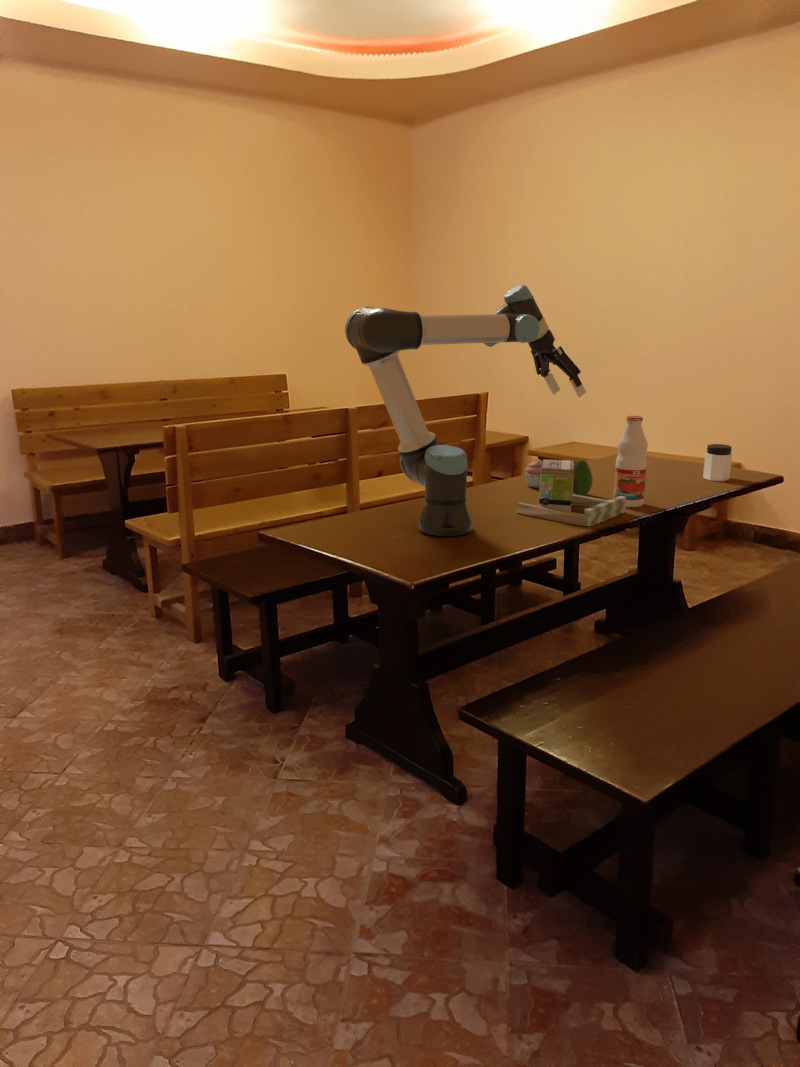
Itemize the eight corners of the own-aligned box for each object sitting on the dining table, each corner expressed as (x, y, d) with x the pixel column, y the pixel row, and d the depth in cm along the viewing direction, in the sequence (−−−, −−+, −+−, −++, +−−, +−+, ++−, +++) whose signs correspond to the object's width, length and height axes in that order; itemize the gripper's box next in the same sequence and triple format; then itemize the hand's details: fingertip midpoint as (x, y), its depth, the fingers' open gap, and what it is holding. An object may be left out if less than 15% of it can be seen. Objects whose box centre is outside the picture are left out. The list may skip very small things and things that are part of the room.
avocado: (585, 492, 281) (587, 457, 278) (595, 497, 274) (597, 461, 271) (563, 493, 280) (565, 458, 276) (572, 498, 272) (574, 462, 269)
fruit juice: (638, 500, 269) (644, 414, 262) (647, 507, 260) (654, 418, 253) (609, 501, 269) (615, 414, 261) (617, 508, 260) (623, 419, 252)
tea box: (571, 517, 250) (574, 468, 246) (537, 515, 252) (539, 467, 248) (571, 505, 265) (574, 459, 260) (539, 503, 267) (541, 458, 262)
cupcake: (523, 483, 295) (524, 455, 292) (550, 484, 293) (551, 456, 290) (521, 488, 286) (522, 460, 283) (549, 490, 284) (550, 461, 282)
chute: (589, 527, 239) (590, 510, 238) (516, 513, 255) (517, 497, 254) (625, 512, 255) (626, 496, 254) (554, 499, 271) (554, 484, 269)
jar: (733, 480, 297) (737, 447, 293) (713, 482, 295) (716, 448, 292) (719, 475, 305) (722, 443, 302) (699, 476, 303) (702, 444, 300)
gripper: (571, 326, 237) (602, 388, 245) (524, 328, 259) (555, 384, 268) (552, 342, 235) (584, 403, 244) (507, 342, 258) (538, 398, 266)
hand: (569, 393), depth 256 cm, fingers open, 13 cm apart
